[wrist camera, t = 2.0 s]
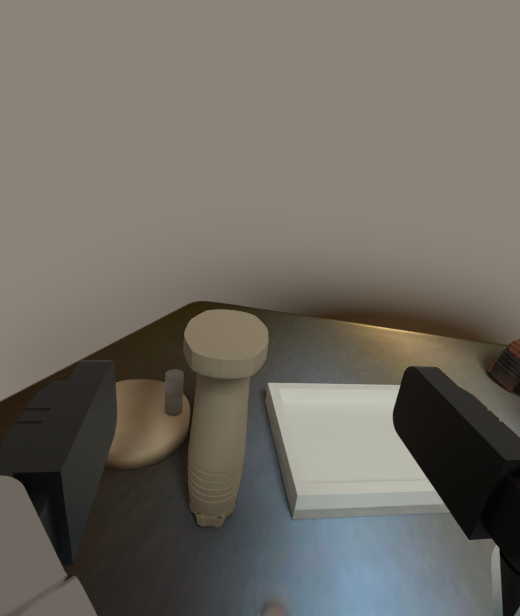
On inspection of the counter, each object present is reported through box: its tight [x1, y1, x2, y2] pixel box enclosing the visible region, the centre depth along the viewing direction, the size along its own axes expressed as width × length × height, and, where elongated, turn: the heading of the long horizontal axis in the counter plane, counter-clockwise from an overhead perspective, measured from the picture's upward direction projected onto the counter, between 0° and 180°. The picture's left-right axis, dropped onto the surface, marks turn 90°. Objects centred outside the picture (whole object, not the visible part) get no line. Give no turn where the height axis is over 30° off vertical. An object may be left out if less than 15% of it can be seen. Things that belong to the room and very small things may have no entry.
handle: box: [183, 310, 268, 528], centre depth 25 cm, size 5×6×15 cm
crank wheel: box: [104, 369, 190, 470], centre depth 33 cm, size 10×10×6 cm
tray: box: [265, 383, 450, 520], centre depth 35 cm, size 16×14×2 cm
